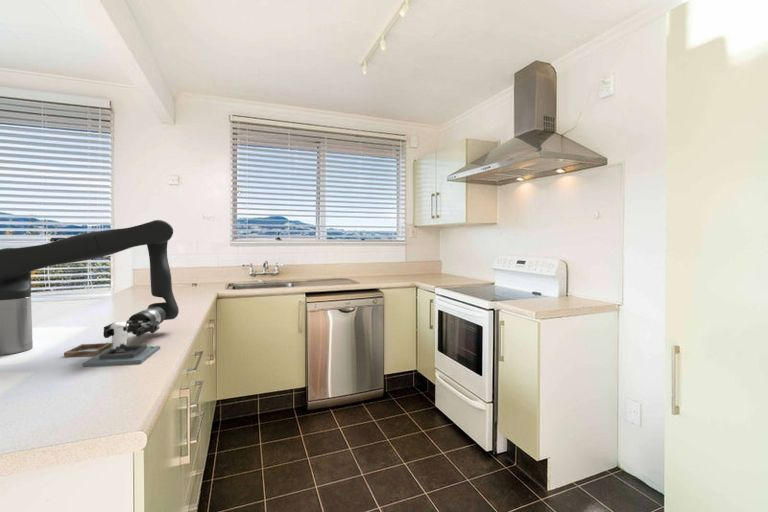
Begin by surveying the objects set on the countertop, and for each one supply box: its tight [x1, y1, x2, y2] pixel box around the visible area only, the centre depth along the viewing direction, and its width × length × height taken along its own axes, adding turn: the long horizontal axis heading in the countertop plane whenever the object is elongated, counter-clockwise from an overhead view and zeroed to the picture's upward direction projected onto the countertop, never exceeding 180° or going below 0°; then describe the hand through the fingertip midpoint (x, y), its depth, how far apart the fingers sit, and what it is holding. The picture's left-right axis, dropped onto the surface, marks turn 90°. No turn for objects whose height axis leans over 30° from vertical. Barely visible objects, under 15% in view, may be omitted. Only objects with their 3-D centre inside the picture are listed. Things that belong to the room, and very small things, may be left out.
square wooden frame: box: [63, 342, 113, 358], centre depth 114 cm, size 9×9×1 cm
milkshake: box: [111, 320, 129, 353], centre depth 110 cm, size 5×5×10 cm
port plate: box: [82, 344, 161, 368], centre depth 109 cm, size 15×14×2 cm
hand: (121, 334), depth 108 cm, fingers open, 8 cm apart
